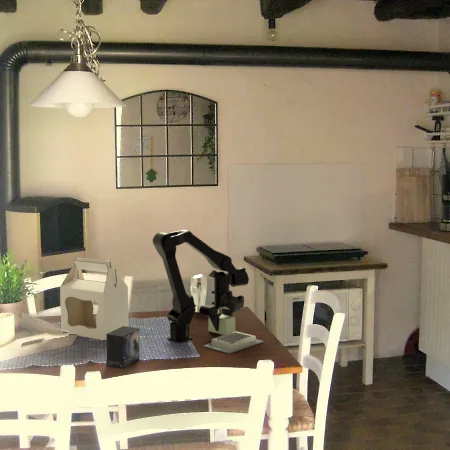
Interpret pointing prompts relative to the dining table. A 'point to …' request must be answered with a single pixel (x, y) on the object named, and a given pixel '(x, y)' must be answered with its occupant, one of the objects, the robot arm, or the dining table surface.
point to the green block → (224, 325)
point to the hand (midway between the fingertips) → (221, 329)
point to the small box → (122, 347)
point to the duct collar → (233, 342)
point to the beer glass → (198, 290)
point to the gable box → (93, 291)
